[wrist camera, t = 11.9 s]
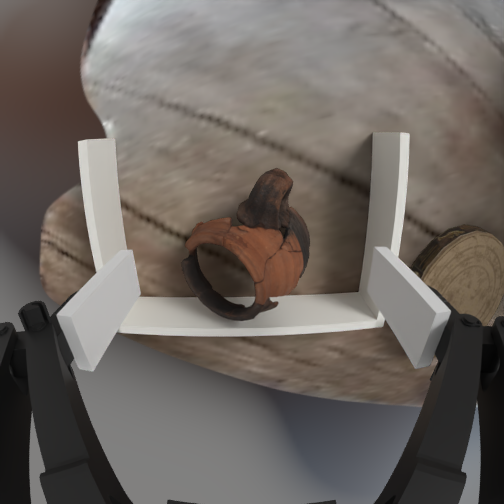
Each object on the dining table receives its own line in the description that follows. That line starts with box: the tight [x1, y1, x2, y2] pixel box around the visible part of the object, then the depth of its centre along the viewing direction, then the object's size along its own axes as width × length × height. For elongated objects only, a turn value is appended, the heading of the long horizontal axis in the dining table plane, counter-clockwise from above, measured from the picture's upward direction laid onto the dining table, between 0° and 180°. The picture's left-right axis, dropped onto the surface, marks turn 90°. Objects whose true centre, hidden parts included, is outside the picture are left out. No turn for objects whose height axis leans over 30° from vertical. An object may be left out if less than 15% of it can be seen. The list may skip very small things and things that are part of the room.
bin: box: [78, 132, 409, 336], centre depth 22 cm, size 24×16×5 cm
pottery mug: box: [181, 168, 310, 321], centre depth 23 cm, size 12×10×8 cm
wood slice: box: [411, 224, 504, 357], centre depth 27 cm, size 16×16×3 cm
